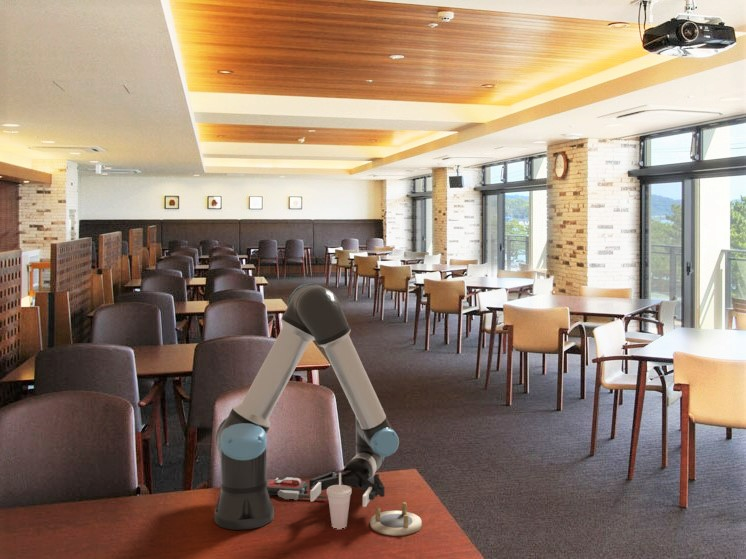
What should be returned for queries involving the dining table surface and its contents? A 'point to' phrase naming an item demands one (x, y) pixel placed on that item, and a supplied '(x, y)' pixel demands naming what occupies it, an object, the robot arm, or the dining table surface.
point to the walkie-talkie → (289, 488)
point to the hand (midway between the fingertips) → (337, 498)
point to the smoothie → (339, 504)
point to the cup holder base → (396, 522)
